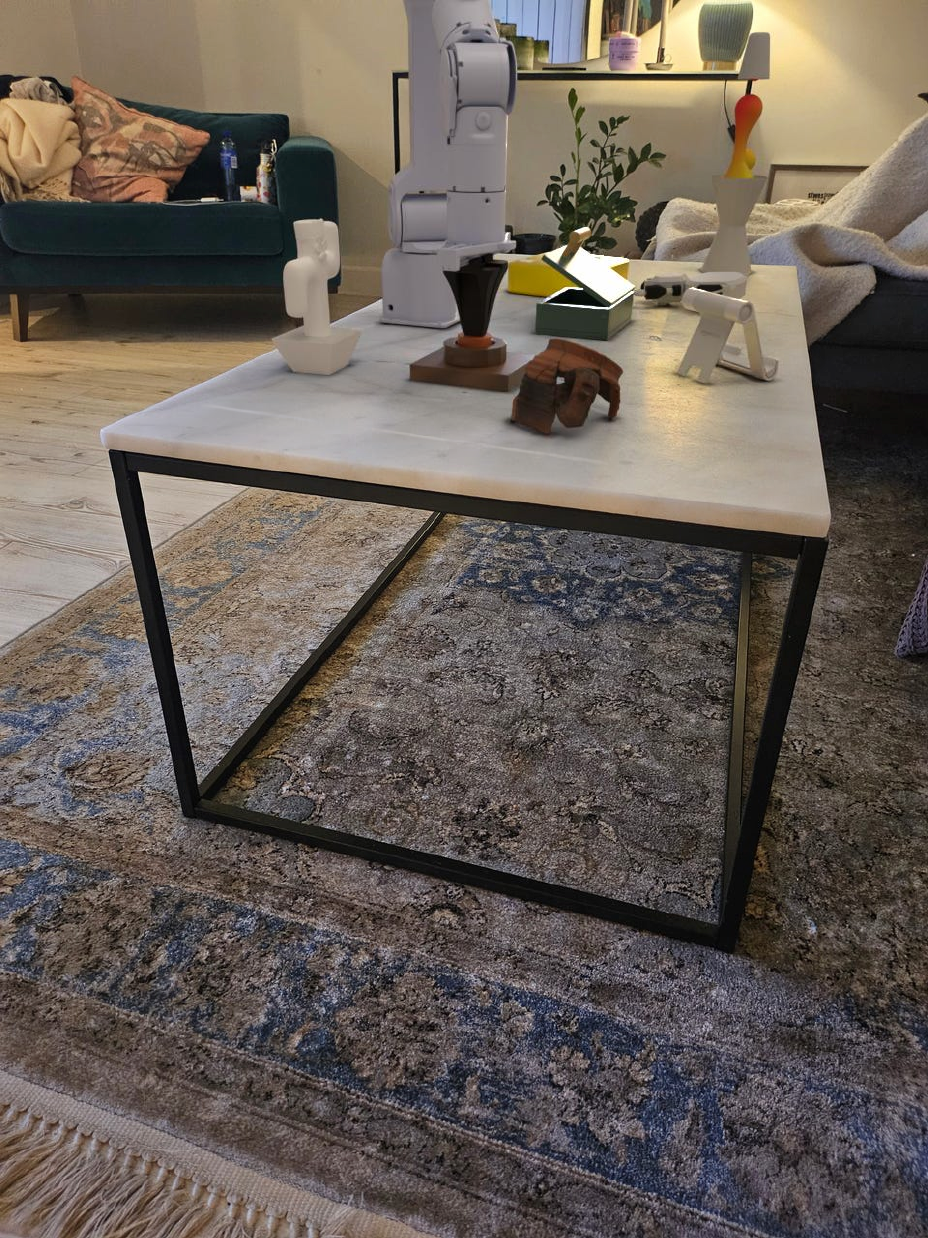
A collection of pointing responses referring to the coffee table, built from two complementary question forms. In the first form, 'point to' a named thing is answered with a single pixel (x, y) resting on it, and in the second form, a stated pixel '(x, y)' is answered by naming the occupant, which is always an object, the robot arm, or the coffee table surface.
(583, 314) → the enamel box
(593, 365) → the brown arched sculpture
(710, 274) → the robot toy
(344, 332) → the figurine
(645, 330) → the coffee table surface
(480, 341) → the button
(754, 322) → the tablet stand
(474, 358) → the control block
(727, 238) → the lava lamp
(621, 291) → the lid
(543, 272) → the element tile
